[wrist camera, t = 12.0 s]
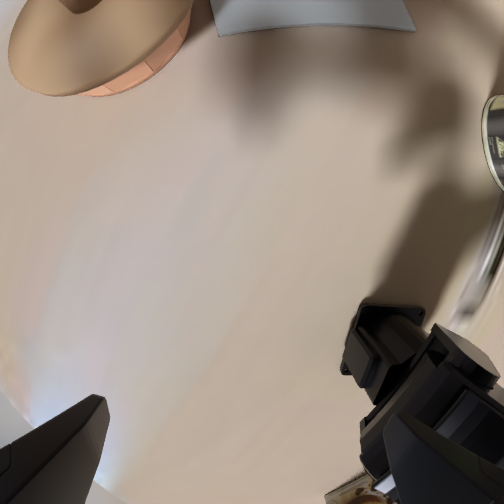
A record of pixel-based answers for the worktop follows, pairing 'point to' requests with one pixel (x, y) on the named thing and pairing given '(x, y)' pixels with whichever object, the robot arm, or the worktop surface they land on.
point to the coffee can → (494, 137)
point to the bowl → (145, 64)
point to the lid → (87, 41)
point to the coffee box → (358, 493)
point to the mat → (308, 14)
